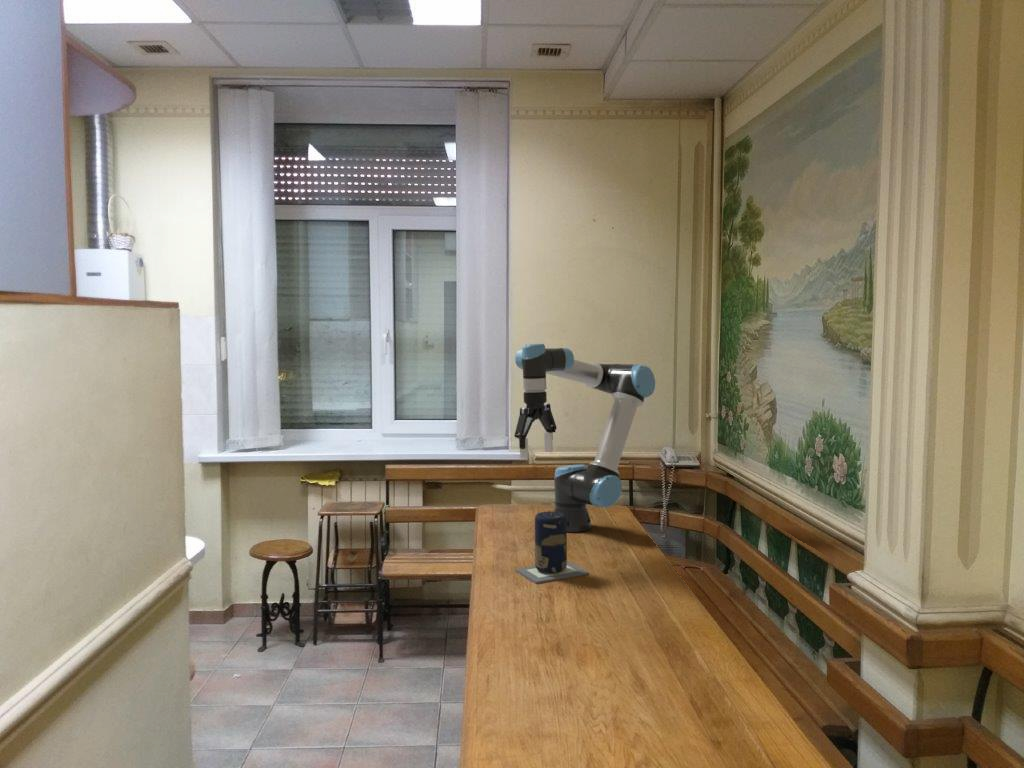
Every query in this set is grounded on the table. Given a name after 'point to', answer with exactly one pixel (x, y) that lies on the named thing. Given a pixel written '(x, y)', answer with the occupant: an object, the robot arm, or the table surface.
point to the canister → (550, 542)
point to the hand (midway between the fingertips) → (536, 455)
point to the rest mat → (541, 577)
